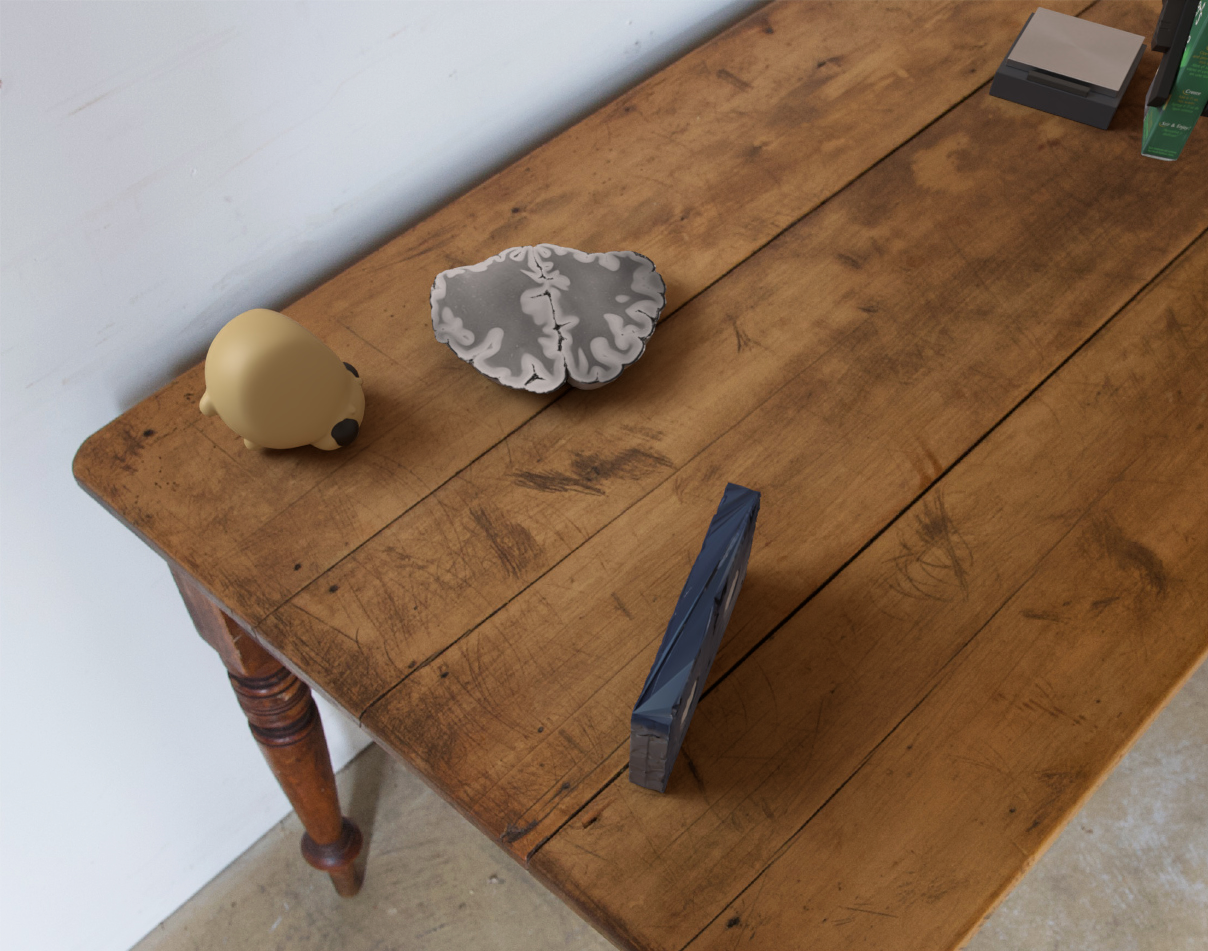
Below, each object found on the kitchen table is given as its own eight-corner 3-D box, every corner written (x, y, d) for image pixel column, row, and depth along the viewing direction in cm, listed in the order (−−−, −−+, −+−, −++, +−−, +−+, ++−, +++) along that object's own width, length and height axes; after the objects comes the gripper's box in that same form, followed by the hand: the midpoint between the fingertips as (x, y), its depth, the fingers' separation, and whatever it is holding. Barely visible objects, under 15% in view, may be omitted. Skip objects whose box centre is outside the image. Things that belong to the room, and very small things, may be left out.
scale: (1137, 67, 114) (1150, 37, 112) (1106, 130, 109) (1120, 99, 106) (1024, 35, 117) (1034, 4, 115) (988, 94, 112) (998, 63, 109)
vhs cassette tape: (714, 564, 81) (728, 478, 72) (753, 577, 80) (771, 492, 72) (619, 781, 72) (622, 711, 63) (662, 797, 71) (671, 729, 63)
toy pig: (304, 500, 88) (390, 442, 82) (165, 430, 80) (249, 361, 74) (316, 404, 93) (398, 343, 87) (186, 329, 85) (267, 257, 79)
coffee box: (1142, 93, 86) (1225, -85, 75) (1180, 100, 86) (1270, -78, 75) (1136, 156, 82) (1224, -23, 71) (1177, 164, 82) (1271, -15, 70)
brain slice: (451, 433, 87) (446, 408, 85) (424, 286, 96) (420, 259, 94) (692, 397, 90) (695, 371, 87) (645, 256, 98) (646, 229, 96)
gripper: (1412, -223, 75) (1282, 141, 81) (1167, -256, 78) (1058, 98, 83) (1471, -287, 68) (1324, 117, 73) (1199, -322, 70) (1077, 71, 76)
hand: (1183, 106), depth 78 cm, fingers closed on coffee box, 3 cm apart
